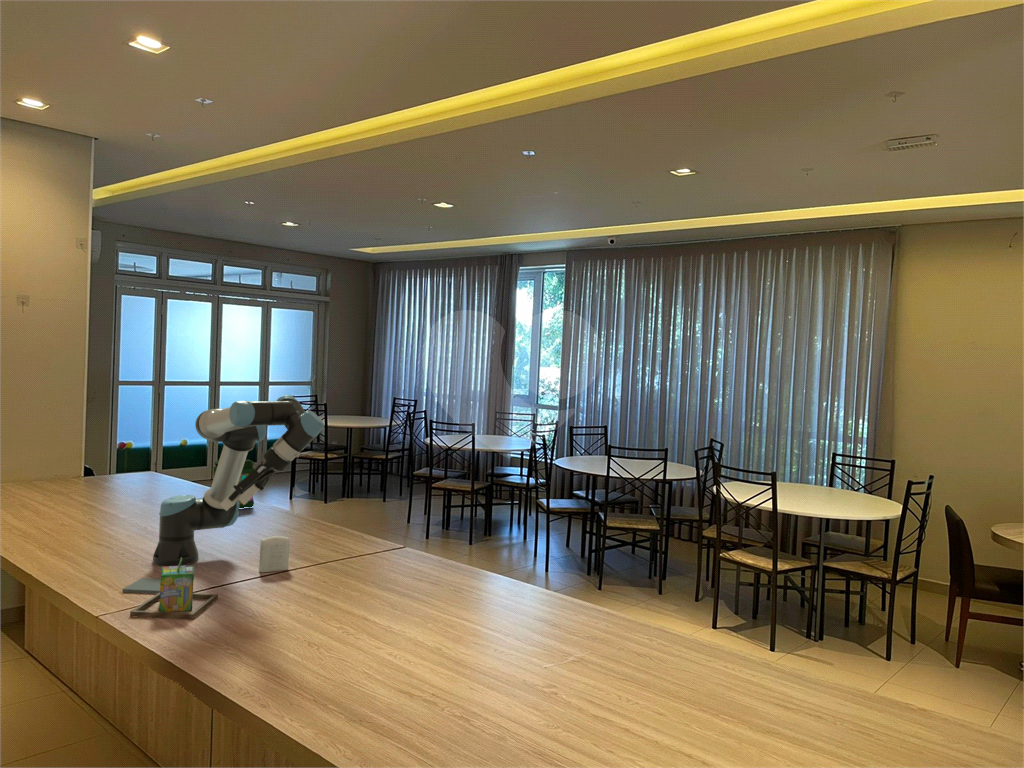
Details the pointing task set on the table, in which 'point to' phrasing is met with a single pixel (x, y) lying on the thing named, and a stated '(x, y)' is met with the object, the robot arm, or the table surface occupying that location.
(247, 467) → the container
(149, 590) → the mat
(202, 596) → the holder frame
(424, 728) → the table surface
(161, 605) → the chalk box
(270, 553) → the white tombstone
